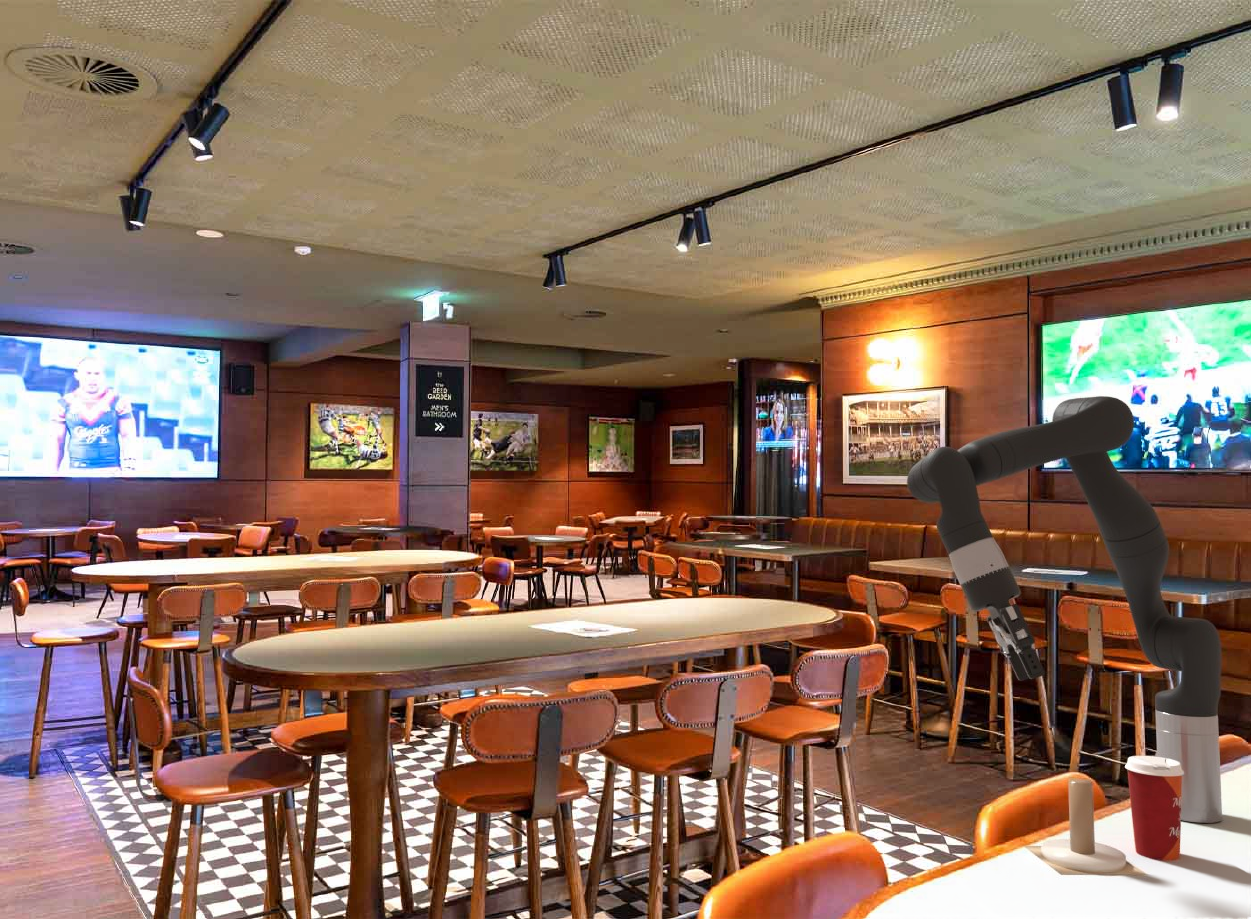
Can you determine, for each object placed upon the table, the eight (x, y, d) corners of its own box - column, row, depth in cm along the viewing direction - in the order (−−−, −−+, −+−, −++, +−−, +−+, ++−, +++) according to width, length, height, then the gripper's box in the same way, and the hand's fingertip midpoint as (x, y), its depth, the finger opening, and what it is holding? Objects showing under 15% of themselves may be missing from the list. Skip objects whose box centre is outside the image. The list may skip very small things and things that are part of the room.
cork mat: (1023, 850, 143) (1023, 846, 143) (1103, 850, 143) (1103, 846, 143) (1060, 878, 131) (1060, 874, 131) (1147, 879, 131) (1147, 874, 131)
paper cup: (1196, 869, 135) (1192, 768, 136) (1137, 865, 137) (1134, 765, 138) (1176, 851, 143) (1172, 755, 144) (1120, 847, 144) (1117, 753, 145)
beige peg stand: (1028, 847, 142) (1026, 771, 143) (1101, 847, 142) (1099, 772, 143) (1062, 873, 131) (1060, 791, 132) (1142, 873, 131) (1139, 791, 132)
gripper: (1016, 558, 136) (1068, 667, 131) (1000, 571, 150) (1046, 671, 145) (965, 576, 137) (1015, 686, 132) (954, 588, 150) (999, 688, 146)
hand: (1032, 678), depth 138 cm, fingers open, 8 cm apart
